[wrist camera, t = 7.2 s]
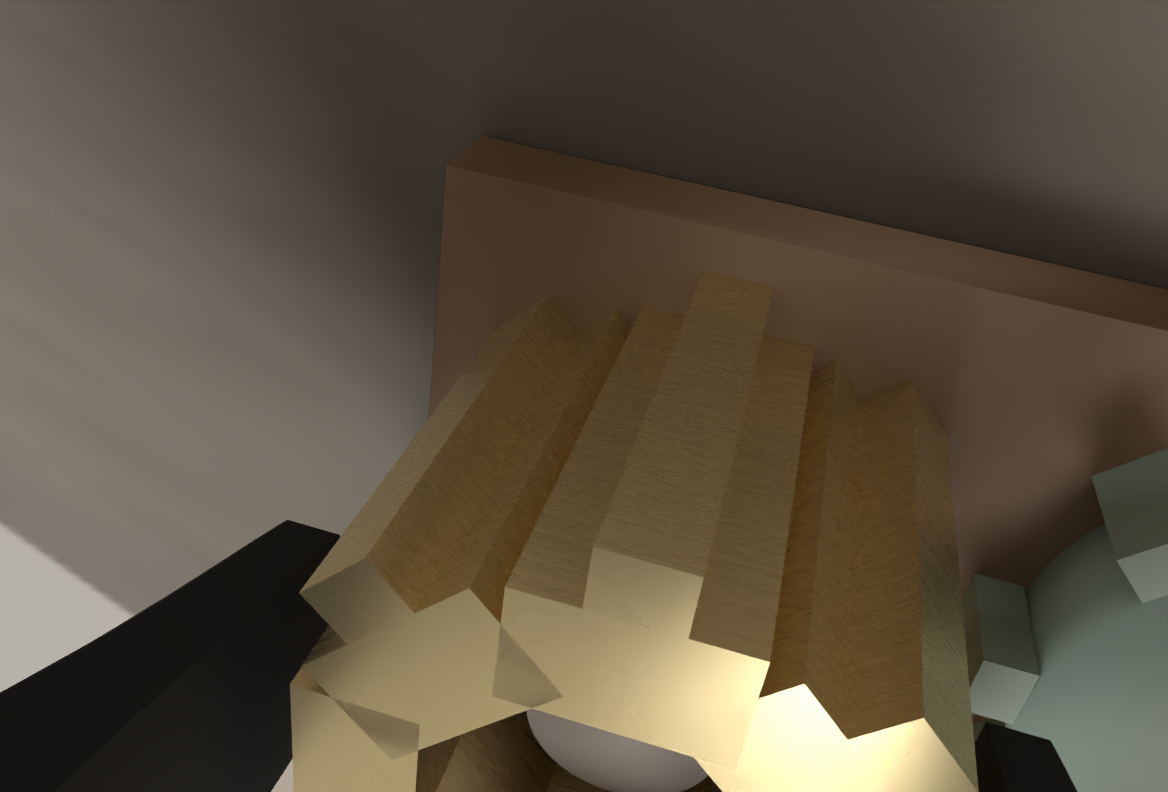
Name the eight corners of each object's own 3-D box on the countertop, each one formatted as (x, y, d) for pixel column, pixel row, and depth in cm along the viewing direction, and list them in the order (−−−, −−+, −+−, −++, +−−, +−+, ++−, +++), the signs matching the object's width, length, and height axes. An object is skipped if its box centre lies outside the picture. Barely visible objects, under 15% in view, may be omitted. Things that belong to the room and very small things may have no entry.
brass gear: (996, 337, 11) (1061, 674, 7) (832, 752, 14) (808, 1138, 10) (499, 224, 12) (280, 460, 8) (461, 642, 15) (301, 960, 11)
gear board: (1761, 422, 10) (2283, 796, 7) (1344, 873, 15) (1510, 1263, 11) (482, 136, 12) (294, 291, 9) (440, 606, 17) (304, 855, 13)
